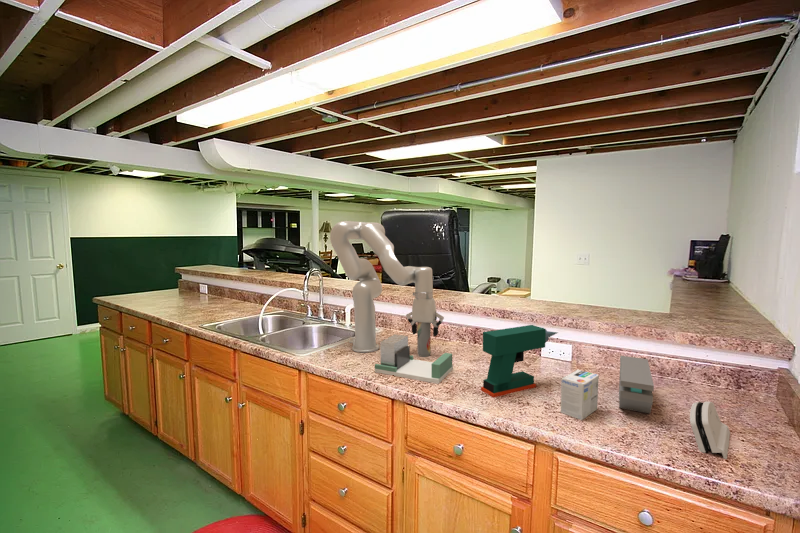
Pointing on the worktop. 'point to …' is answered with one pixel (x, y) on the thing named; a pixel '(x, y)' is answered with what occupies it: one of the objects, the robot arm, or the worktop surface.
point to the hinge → (709, 428)
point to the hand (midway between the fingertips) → (425, 334)
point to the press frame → (421, 369)
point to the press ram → (395, 351)
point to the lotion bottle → (423, 339)
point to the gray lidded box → (635, 384)
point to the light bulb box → (579, 394)
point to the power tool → (511, 357)
